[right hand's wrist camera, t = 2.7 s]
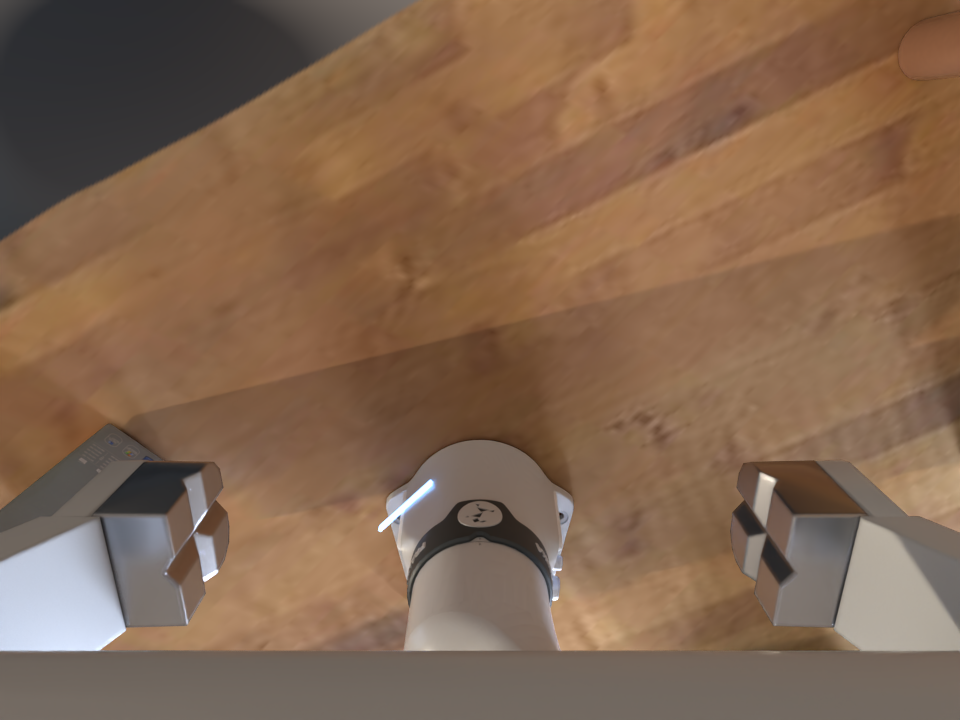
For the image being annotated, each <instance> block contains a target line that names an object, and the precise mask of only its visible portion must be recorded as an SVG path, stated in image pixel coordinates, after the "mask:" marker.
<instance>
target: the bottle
mask: <svg viewBox="0 0 960 720" xmlns="http://www.w3.org/2000/svg"><path fill="white" fill-rule="evenodd" d="M898 61H899V65H900V68H901V70H902V71H903V73H904V74H905V75H906V76H908V77H909V78H911V79H913V80H918V81H925V80H936V79H947V78H959V77H960V11H958V12H953V13H949V14H944V15H940V16H936V17H931V18H927V19H924V20H922V21H920V22H918V23H916V24H915V25H914V26H913V27H911V28H910V29H909V31H908V32H907V33H906V34H905V36H904V38H903V39H902V41H901V44H900V47H899V51H898Z"/></svg>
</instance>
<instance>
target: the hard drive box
mask: <svg viewBox="0 0 960 720" xmlns="http://www.w3.org/2000/svg"><path fill="white" fill-rule="evenodd" d="M125 460H148V461H164V460H162V459H161V458H159V457H158V456H156V455H155V454H154V453H152V452H151V451H149V450H148V449H146V448H145V447H143V446H142V445H141V444H139V443H138V442H136V441H135V440H133V439H132V438H130V437H129V436H127V435H126V434H125V433H123V432H122V431H120V430H119V429H117V428H116V427H114V426H113V425H111V424H107V425H106V426H104V427H103V428H102V429H101V430H99V431H98V432H97V433H95V434H94V435H93V436H92V437H90V438H89V439H88V440H87V441H85V442H84V443H83V444H82V445H80V446H79V447H78V448H77V449H75V450H74V451H73V452H72V453H70V454H69V455H68V456H67V457H65V458H64V459H63V460H62V461H61V462H59V463H58V464H57V465H56V466H54V467H53V468H52V469H51V470H49V471H48V472H47V473H46V474H45V475H43V476H42V477H41V478H40V479H38V480H37V481H36V482H35V483H33V484H32V485H31V486H30V487H28V488H27V489H26V490H25V491H23V492H22V493H21V494H20V495H18V496H17V497H16V498H15V499H14V500H12V501H11V502H10V503H9V504H7V505H6V506H5V507H4V508H2V509H1V510H0V533H1V532H3V531H6V530H8V529H11V528H13V527H16V526H18V525H21V524H23V523H25V522H28V521H30V520H33V519H35V518H38V517H40V516H52V515H53V514H54V513H56V512H57V511H58V510H59V509H60V508H61V507H62V506H63V505H64V504H65V503H66V502H68V501H69V500H70V499H71V498H72V497H73V496H74V495H75V494H76V493H77V492H79V491H80V490H81V489H82V488H83V487H84V486H85V485H86V484H87V483H88V482H89V481H91V480H92V479H93V478H94V477H95V476H96V475H97V474H98V473H99V472H100V471H102V470H103V469H104V468H105V467H106V466H107V465H108V464H109V463H110V462H112V461H125Z"/></svg>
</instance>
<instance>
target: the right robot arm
mask: <svg viewBox="0 0 960 720" xmlns="http://www.w3.org/2000/svg"><path fill="white" fill-rule="evenodd" d="M222 489H223V482H222V477H221V472H220V468H219V467H218V466H217V465H216V464H215V462H199V461H148V460H125V461H112V462H110V463H109V464H108V465H107V466H106V467H105V468H104V469H103V470H102V471H100V472H99V473H98V474H97V475H96V476H95V477H94V478H93V479H92V480H91V481H89V482H88V483H87V484H86V485H85V486H84V487H83V488H82V489H81V490H80V491H79V492H77V493H76V494H75V495H74V496H73V497H72V498H71V499H70V500H69V501H68V502H66V503H65V504H64V505H63V506H62V507H61V508H60V509H59V510H58V511H57V512H56V513H54V514H53V515H52V516H40V517H38V518H35V519H33V520H30V521H28V522H25V523H23V524H21V525H18V526H16V527H13V528H11V529H8V530H6V531H3V532H1V533H0V720H960V533H959V532H957V531H954V530H952V529H949V528H947V527H944V526H942V525H939V524H937V523H934V522H932V521H930V520H927V519H925V518H922V517H920V516H908V515H907V514H906V513H905V512H903V511H902V510H901V509H900V508H899V507H898V506H897V505H896V504H895V503H894V502H893V501H891V500H890V499H889V498H888V497H887V496H886V495H885V494H884V493H883V492H882V491H880V490H879V489H878V488H877V487H876V486H875V485H874V484H873V483H872V482H871V481H870V480H868V479H867V478H866V477H865V476H864V475H863V474H862V473H861V472H860V471H859V470H858V469H856V468H855V467H854V466H853V465H852V464H851V463H850V462H847V461H844V460H824V461H814V460H813V461H772V462H748V463H743V465H742V467H741V470H740V472H739V476H738V482H737V489H738V491H739V492H740V494H741V495H742V497H743V498H744V501H743V502H742V503H741V504H740V505H739V506H738V507H737V508H736V509H735V510H734V511H733V513H732V521H731V530H730V533H731V543H732V550H733V553H734V557H735V560H736V562H737V564H738V566H739V568H740V570H741V571H742V573H743V574H745V575H746V576H748V577H750V578H751V579H753V580H754V581H756V586H755V592H754V594H755V596H756V597H757V599H758V601H759V602H760V604H761V606H762V607H763V609H764V611H765V613H766V614H767V616H768V618H769V619H770V621H771V623H772V624H773V626H799V627H834V631H836V632H837V633H838V634H840V635H841V636H842V637H844V638H845V639H846V640H848V641H849V642H850V643H852V644H853V645H854V646H856V647H857V648H858V649H860V650H861V651H561V650H560V647H559V643H558V640H557V636H556V632H555V628H554V624H553V619H552V614H551V609H550V608H551V605H552V600H553V601H555V600H557V599H558V596H559V590H560V580H559V577H557V576H555V572H556V571H561V569H562V564H563V558H562V556H560V555H561V551H562V548H563V544H564V541H565V538H566V534H567V531H568V527H569V524H570V520H571V517H572V513H573V510H574V500H573V498H572V496H571V495H570V494H569V493H568V492H566V491H565V490H564V489H562V488H560V487H559V486H557V485H555V484H553V483H552V482H551V481H550V480H549V479H548V478H547V477H546V475H545V474H544V473H543V471H542V470H541V468H540V467H539V466H538V465H537V464H536V462H535V461H534V460H532V459H531V458H530V457H529V456H528V455H526V454H525V453H523V452H522V451H520V450H518V449H517V448H515V447H512V446H510V445H507V444H504V443H501V442H496V441H490V440H470V441H464V442H459V443H456V444H453V445H450V446H448V447H446V448H443V449H442V450H440V451H438V452H437V453H435V454H434V455H432V456H431V457H430V458H429V459H428V460H426V461H425V463H424V464H423V465H422V466H421V467H420V468H419V470H418V471H417V473H416V474H415V475H414V477H413V478H412V479H411V480H410V481H409V482H408V483H407V484H405V485H403V486H402V487H400V488H398V489H397V490H395V491H394V492H392V493H391V494H390V495H389V496H388V498H387V501H386V510H387V513H388V518H387V519H386V520H385V521H384V522H383V523H382V524H381V525H380V526H379V529H378V530H379V531H380V532H381V531H382V530H383V529H385V528H386V527H387V526H388V525H389V524H391V527H392V531H393V534H394V537H395V541H396V544H397V548H398V551H399V555H400V558H401V562H402V565H403V569H404V572H405V576H406V579H407V585H408V588H407V598H408V604H409V608H410V610H409V617H408V624H407V631H406V638H405V645H404V651H99V650H100V649H102V648H103V647H105V646H106V645H107V644H109V643H110V642H111V641H113V640H114V639H115V638H117V637H118V636H119V635H121V634H122V633H123V632H125V631H126V627H160V626H187V625H188V623H189V621H190V619H191V618H192V616H193V614H194V613H195V611H196V609H197V608H198V606H199V604H200V602H201V601H202V599H203V597H204V596H205V594H206V592H205V586H204V581H206V580H207V579H209V578H210V577H212V576H214V575H215V574H217V573H218V571H219V570H220V568H221V566H222V564H223V562H224V560H225V557H226V553H227V548H228V544H229V520H228V513H227V511H226V510H225V509H224V508H223V507H222V506H221V505H220V504H219V503H218V502H217V501H216V498H217V497H218V495H219V494H220V492H221V491H222ZM559 513H563V514H562V515H560V516H559ZM400 514H401V516H400Z"/></svg>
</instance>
